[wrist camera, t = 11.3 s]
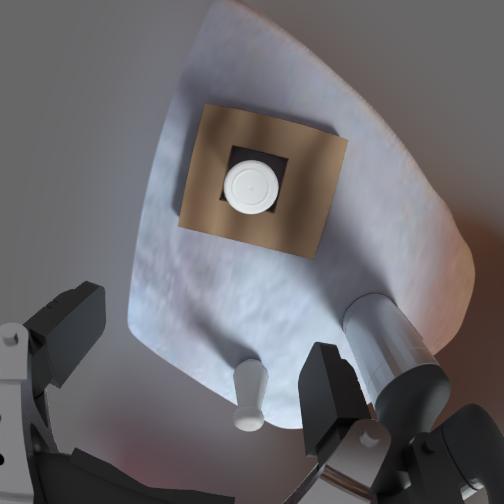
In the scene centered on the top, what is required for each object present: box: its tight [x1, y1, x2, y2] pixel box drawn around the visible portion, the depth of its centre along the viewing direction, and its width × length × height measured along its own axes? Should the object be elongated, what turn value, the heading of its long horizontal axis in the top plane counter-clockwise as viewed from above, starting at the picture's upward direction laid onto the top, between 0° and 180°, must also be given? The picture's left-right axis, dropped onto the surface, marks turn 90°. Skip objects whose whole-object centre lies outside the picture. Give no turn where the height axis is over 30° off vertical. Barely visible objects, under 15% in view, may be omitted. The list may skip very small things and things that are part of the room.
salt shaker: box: [233, 358, 269, 431], centre depth 38 cm, size 6×6×13 cm
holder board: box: [178, 104, 348, 260], centre depth 34 cm, size 18×16×2 cm
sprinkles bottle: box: [224, 160, 278, 214], centre depth 28 cm, size 5×5×13 cm
